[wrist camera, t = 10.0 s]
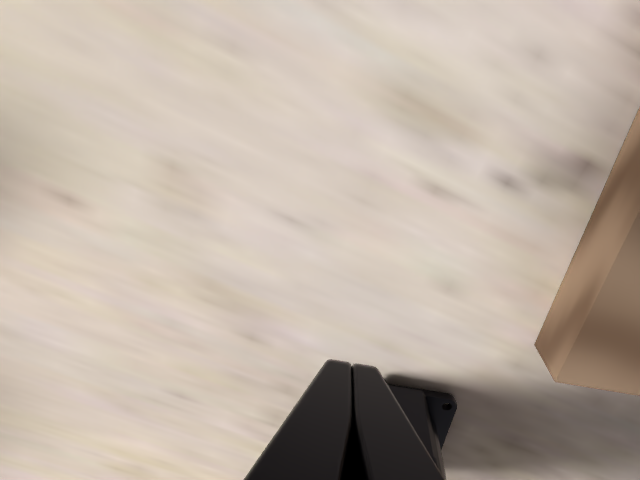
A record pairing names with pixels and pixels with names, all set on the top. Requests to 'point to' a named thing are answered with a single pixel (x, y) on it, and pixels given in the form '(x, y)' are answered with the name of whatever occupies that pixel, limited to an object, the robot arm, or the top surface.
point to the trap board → (602, 290)
